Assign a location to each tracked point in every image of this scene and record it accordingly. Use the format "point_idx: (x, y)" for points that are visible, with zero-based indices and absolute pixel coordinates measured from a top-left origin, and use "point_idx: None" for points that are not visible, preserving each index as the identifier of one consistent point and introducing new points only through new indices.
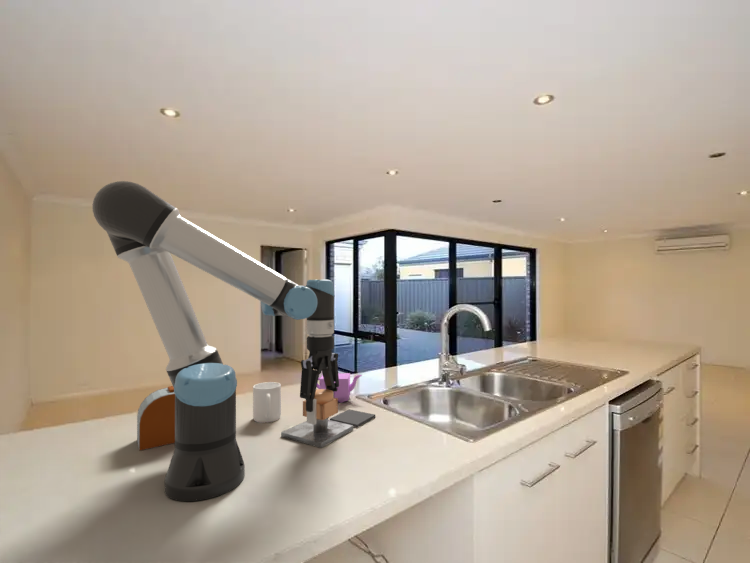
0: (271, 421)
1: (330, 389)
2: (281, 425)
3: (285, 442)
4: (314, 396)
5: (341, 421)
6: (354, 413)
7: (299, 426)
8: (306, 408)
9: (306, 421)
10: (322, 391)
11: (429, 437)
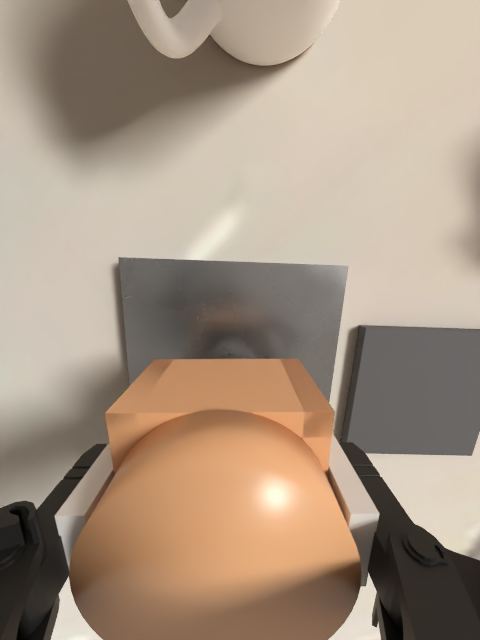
0: (234, 56)
1: (382, 589)
2: (222, 157)
3: (102, 313)
4: (52, 630)
5: (355, 386)
6: (461, 382)
7: (212, 284)
8: (77, 466)
9: (276, 270)
10: (262, 582)
11: (352, 615)
